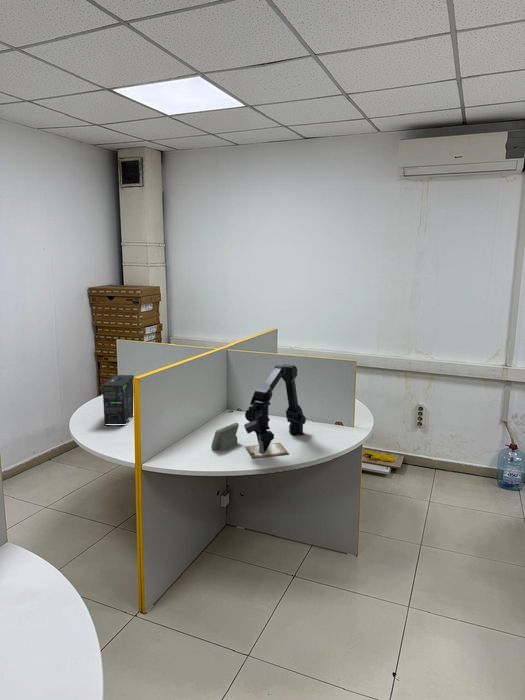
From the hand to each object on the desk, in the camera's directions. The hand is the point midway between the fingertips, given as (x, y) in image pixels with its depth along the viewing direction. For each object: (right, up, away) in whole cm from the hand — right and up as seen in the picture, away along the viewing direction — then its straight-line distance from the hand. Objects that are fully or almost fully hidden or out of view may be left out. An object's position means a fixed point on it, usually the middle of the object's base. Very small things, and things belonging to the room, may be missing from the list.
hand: (262, 447), depth 228 cm
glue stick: (0, -2, 0) cm, 3 cm away
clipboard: (+2, -3, +4) cm, 5 cm away
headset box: (-82, +6, +50) cm, 96 cm away
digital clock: (-18, -2, +11) cm, 21 cm away
